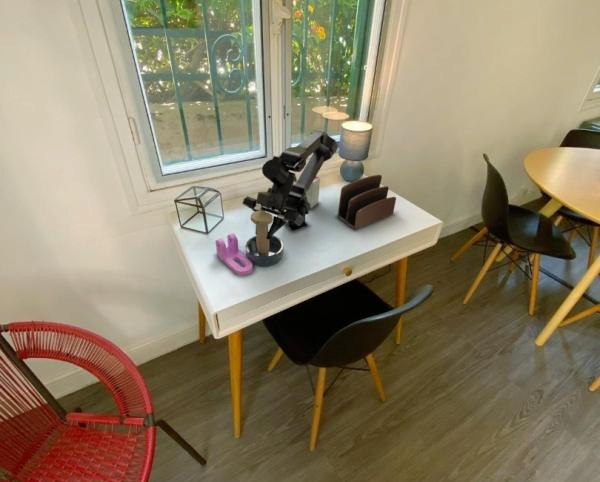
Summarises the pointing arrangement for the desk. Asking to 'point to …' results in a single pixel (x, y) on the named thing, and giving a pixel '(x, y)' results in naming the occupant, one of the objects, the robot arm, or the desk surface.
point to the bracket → (233, 255)
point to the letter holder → (365, 202)
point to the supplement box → (313, 193)
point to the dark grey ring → (265, 261)
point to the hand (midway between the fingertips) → (261, 237)
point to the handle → (262, 231)
